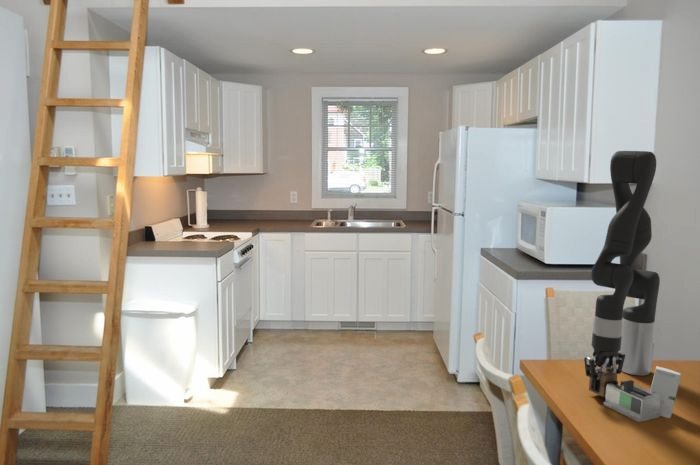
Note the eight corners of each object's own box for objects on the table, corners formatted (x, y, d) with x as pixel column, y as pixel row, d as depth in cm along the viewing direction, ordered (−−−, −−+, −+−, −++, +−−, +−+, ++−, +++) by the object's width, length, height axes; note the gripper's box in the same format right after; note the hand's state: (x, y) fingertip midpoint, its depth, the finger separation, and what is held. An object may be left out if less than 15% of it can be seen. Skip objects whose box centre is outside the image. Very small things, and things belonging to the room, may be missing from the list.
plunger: (614, 392, 154) (615, 373, 153) (644, 406, 145) (646, 386, 145) (599, 395, 152) (601, 376, 151) (629, 409, 143) (631, 389, 142)
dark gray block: (630, 389, 145) (630, 380, 145) (633, 390, 144) (633, 381, 144) (623, 390, 144) (624, 381, 144) (626, 392, 143) (627, 382, 143)
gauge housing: (623, 400, 154) (625, 380, 153) (659, 416, 144) (662, 395, 143) (603, 404, 150) (605, 384, 150) (639, 422, 141) (641, 400, 140)
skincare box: (645, 411, 146) (655, 368, 145) (645, 407, 150) (655, 365, 149) (671, 419, 143) (681, 375, 142) (671, 415, 147) (680, 372, 146)
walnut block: (601, 387, 159) (602, 367, 158) (615, 394, 154) (617, 374, 154) (588, 390, 157) (590, 370, 156) (603, 396, 152) (604, 376, 152)
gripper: (613, 326, 160) (609, 381, 162) (578, 331, 154) (573, 388, 156) (636, 333, 153) (631, 391, 155) (599, 339, 147) (594, 399, 149)
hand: (602, 389), depth 156 cm, fingers closed on walnut block, 5 cm apart
